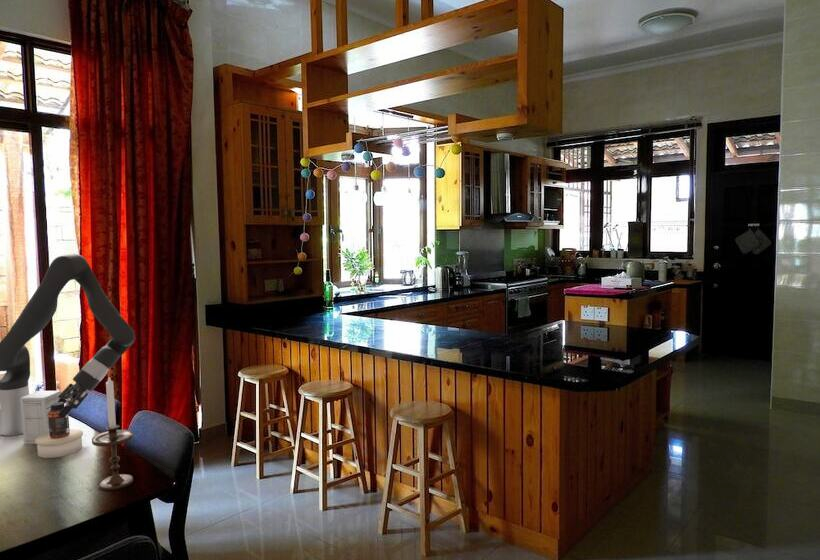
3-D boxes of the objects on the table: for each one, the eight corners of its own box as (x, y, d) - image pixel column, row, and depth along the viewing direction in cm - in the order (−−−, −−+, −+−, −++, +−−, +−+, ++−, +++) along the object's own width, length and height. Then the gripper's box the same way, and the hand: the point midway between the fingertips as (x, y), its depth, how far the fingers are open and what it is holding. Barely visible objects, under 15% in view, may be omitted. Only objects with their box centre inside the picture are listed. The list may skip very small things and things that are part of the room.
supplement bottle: (73, 434, 198) (71, 401, 197) (57, 440, 193) (54, 406, 192) (62, 431, 201) (60, 400, 200) (45, 437, 195) (43, 404, 194)
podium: (27, 459, 189) (26, 444, 189) (49, 443, 203) (48, 430, 203) (72, 457, 190) (70, 442, 190) (91, 441, 204) (90, 428, 204)
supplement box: (66, 435, 212) (63, 390, 210) (48, 444, 203) (44, 397, 201) (42, 434, 213) (38, 390, 211) (23, 444, 204) (19, 397, 202)
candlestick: (143, 482, 170) (135, 365, 167) (104, 495, 162) (96, 373, 159) (126, 472, 177) (119, 360, 174) (88, 485, 169) (80, 367, 166)
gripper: (76, 365, 205) (41, 404, 198) (89, 371, 195) (53, 412, 188) (93, 377, 210) (60, 415, 202) (107, 384, 200) (72, 424, 192)
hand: (56, 414), depth 195 cm, fingers open, 8 cm apart
